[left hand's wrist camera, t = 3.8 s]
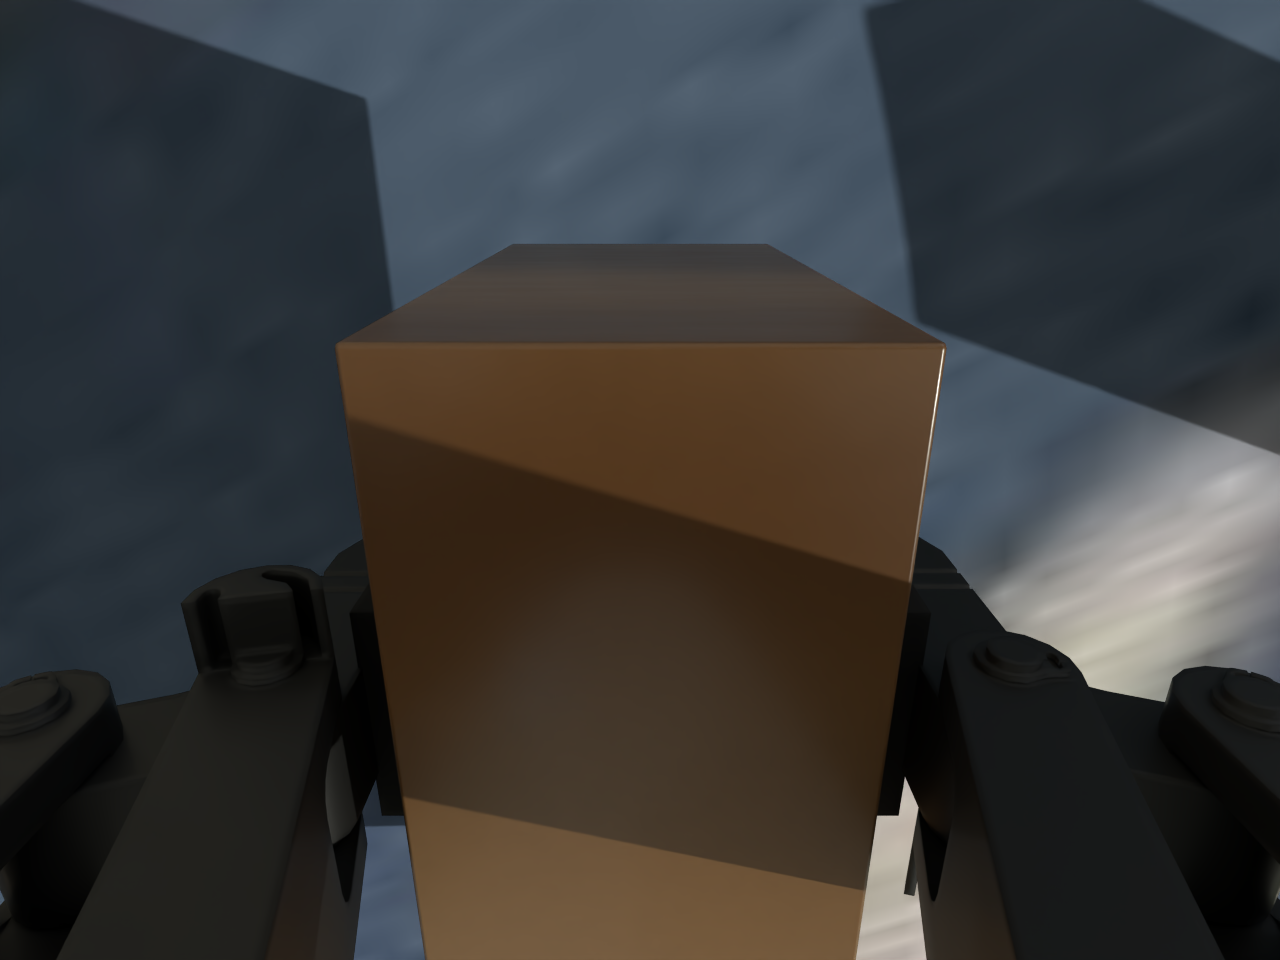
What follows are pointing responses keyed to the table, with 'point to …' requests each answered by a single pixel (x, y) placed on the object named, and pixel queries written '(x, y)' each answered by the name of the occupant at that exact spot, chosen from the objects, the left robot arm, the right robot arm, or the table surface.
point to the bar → (640, 594)
